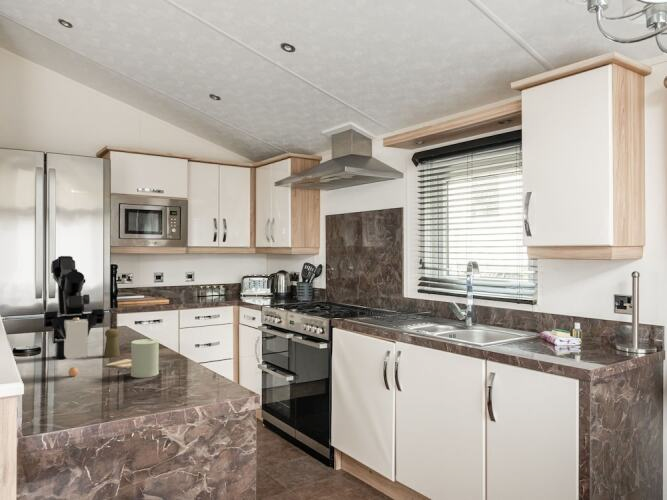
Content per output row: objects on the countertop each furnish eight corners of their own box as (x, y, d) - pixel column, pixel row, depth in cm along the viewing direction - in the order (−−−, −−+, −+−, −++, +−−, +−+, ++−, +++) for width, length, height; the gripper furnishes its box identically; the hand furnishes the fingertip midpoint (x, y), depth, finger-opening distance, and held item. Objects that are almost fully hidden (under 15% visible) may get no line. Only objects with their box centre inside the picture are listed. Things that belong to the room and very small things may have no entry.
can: (164, 372, 180) (164, 338, 180) (146, 378, 172) (147, 343, 172) (143, 370, 183) (143, 336, 183) (124, 376, 175) (125, 341, 175)
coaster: (105, 365, 189) (105, 364, 189) (125, 360, 198) (125, 358, 198) (127, 368, 186) (127, 366, 186) (146, 362, 195) (146, 361, 195)
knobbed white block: (64, 355, 175) (64, 317, 175) (84, 353, 179) (85, 316, 179) (66, 358, 170) (66, 319, 170) (87, 356, 174) (87, 318, 173)
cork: (114, 358, 202) (114, 330, 202) (100, 357, 204) (100, 329, 204) (123, 354, 208) (123, 328, 208) (110, 354, 209) (110, 327, 209)
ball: (66, 376, 174) (66, 367, 173) (74, 374, 176) (74, 365, 176) (71, 377, 172) (71, 368, 172) (80, 375, 175) (80, 367, 175)
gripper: (44, 287, 172) (46, 324, 163) (104, 286, 183) (109, 320, 174) (42, 308, 179) (44, 345, 170) (100, 305, 189) (105, 340, 180)
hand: (76, 337), depth 173 cm, fingers closed on knobbed white block, 6 cm apart
